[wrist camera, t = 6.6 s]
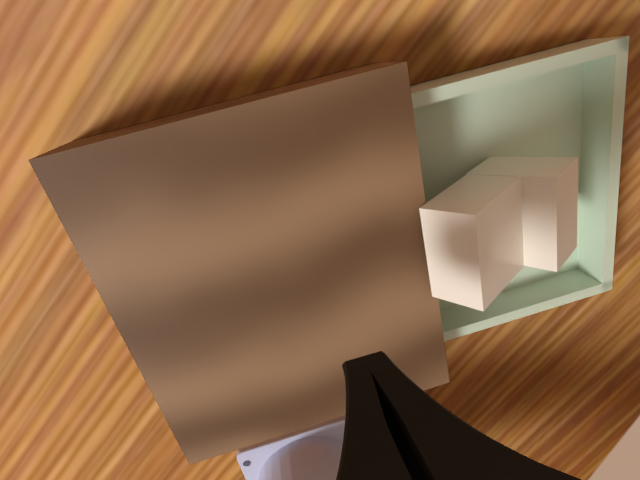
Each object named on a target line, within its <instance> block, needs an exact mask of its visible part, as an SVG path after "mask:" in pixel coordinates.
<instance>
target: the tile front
mask: <svg viewBox="0 0 640 480" xmlns="http://www.w3.org/2000/svg"><path fill="white" fill-rule="evenodd" d="M419 211H420V218H421V224H422V231H423V238H424V245H425V252H426V258H427V265H428V272H429V279H430V286H431V293H432V297H436V298H439V299H442V300H446V301H449V302H453V303H456V304H459V305H463V306H466V307H470V308H473V309H476V310H480V311H483V312H484V310H485V309H486V308H487V307H488V306H489V305H490V304H491V303H492V301H493V300H494V299H495V298H496V297H497V296H498V295H499V294H500V293H501V291H502V290H503V289H504V288H505V287H506V286H507V285H508V284H509V282H510V281H511V280H512V279H513V278H514V277H515V276H516V275H517V273H518V272H519V271H520V270H521V269H522V268H523V267H524V254H523V226H522V198H521V177H512V176H491V175H471V174H467V175H465V176H464V177H462V178H461V179H460V180H458V181H457V182H455V183H454V184H453V185H451V186H450V187H448V188H447V189H446V190H444V191H443V192H441V193H440V194H438V195H437V196H436V197H434V198H433V199H431V200H430V201H429V202H427V203H426V204H424V205H423V206H422V207H420V208H419Z"/></svg>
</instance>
